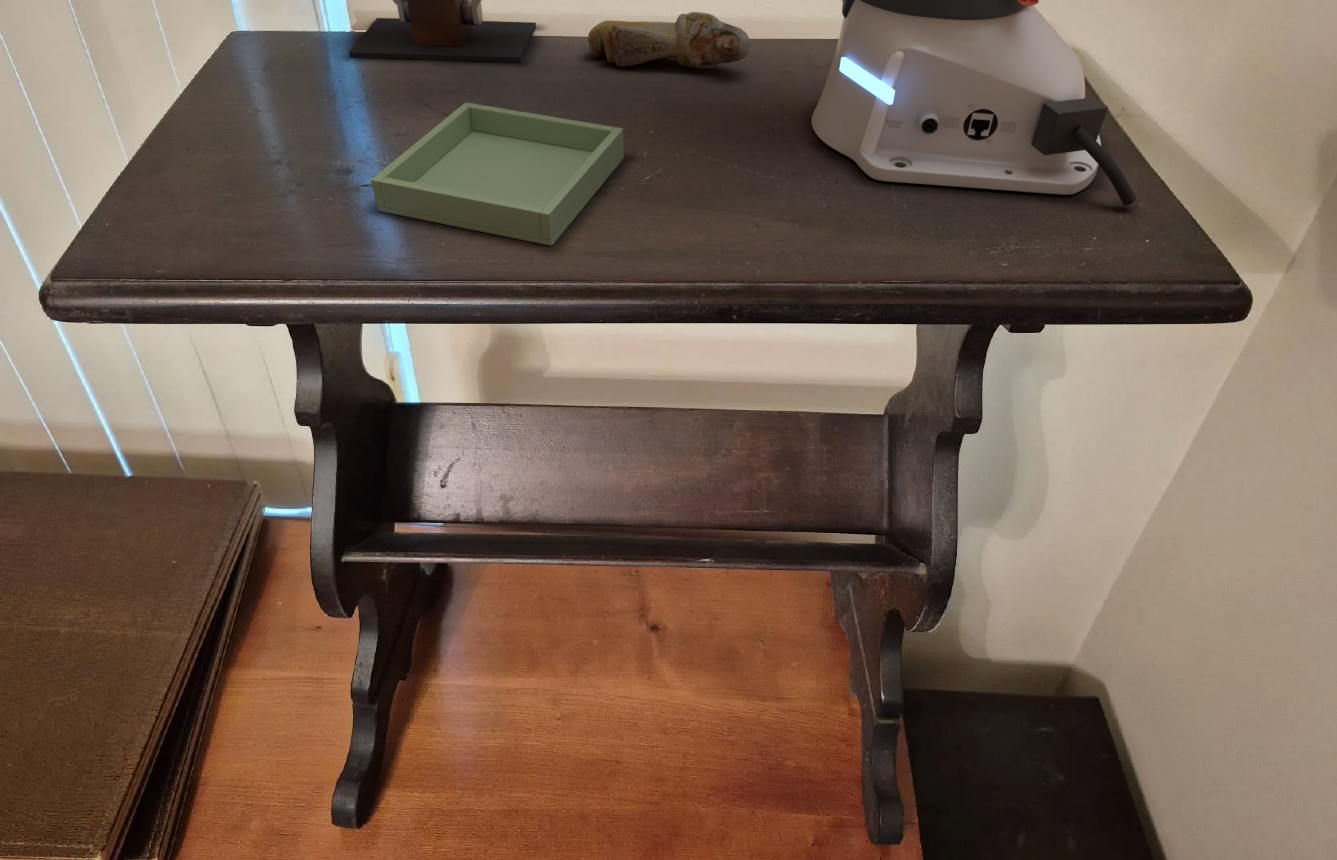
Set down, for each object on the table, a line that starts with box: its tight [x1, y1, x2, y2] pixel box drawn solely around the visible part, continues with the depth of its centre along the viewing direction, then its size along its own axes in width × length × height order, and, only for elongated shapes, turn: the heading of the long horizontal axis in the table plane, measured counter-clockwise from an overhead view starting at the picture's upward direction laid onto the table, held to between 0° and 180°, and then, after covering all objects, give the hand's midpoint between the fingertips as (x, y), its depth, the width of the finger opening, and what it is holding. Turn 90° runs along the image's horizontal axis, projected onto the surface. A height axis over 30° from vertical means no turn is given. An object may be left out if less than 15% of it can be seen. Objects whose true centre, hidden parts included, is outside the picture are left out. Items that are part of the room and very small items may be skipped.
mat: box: [348, 17, 537, 63], centre depth 84 cm, size 16×9×1 cm, turn 87°
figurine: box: [587, 11, 751, 69], centre depth 79 cm, size 5×5×15 cm
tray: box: [370, 102, 625, 247], centre depth 64 cm, size 13×13×2 cm
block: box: [407, 0, 472, 47], centre depth 82 cm, size 4×4×4 cm
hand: (442, 21), depth 83 cm, fingers open, 5 cm apart
